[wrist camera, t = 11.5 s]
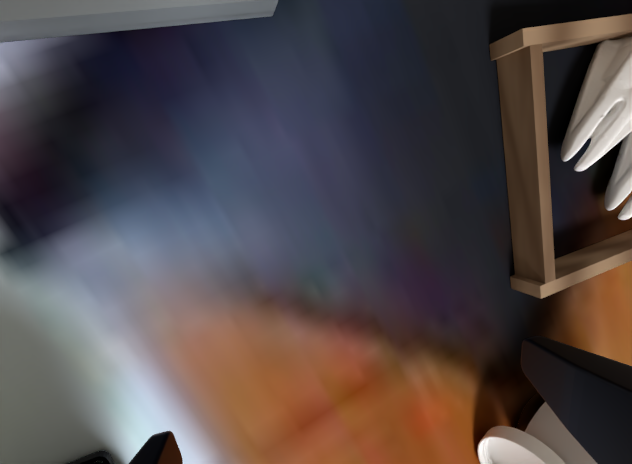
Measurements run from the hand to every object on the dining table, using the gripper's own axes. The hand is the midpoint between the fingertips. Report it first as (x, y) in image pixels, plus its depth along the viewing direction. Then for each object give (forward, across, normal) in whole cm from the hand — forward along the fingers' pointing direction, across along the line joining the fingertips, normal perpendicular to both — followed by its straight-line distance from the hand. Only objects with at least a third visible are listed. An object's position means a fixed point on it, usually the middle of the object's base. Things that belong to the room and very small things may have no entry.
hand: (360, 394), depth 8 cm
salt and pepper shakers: (+18, -26, -2) cm, 31 cm away
